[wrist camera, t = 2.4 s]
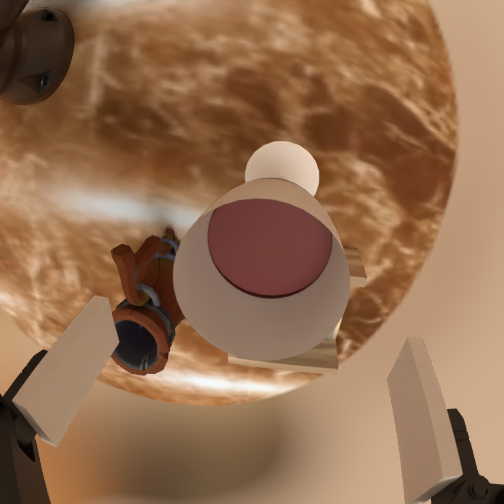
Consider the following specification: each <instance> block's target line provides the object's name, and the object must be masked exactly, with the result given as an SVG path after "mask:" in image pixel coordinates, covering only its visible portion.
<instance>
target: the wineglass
mask: <svg viewBox="0 0 504 504" xmlns="http://www.w3.org/2000/svg"><path fill="white" fill-rule="evenodd" d="M245 182H246V183H244V184H242V185H240V186H238V187H235V188H233V189H232V190H230V191H229V192H227V193H226V194H224V195H223V196H222V197H220V198H219V199H218V200H217V201H216V202H215V203H214V204H213V205H211V206H210V207H209V208H208V209H207V210H206V211H205V212H204V213H203V214H202V215H201V216H200V217H199V218H198V220H197V221H196V222H195V223H194V224H193V225H192V227H191V228H190V229H189V230H188V232H187V234H186V235H185V237H184V238H183V240H182V241H181V244H180V246H179V248H178V251H177V253H176V257H175V262H174V266H173V283H174V291H175V295H176V298H177V302H178V304H179V306H180V308H181V311H182V313H183V315H184V316H185V318H186V319H187V321H188V322H189V324H190V325H191V326H192V327H193V328H194V329H195V331H196V332H197V333H198V334H199V335H200V336H202V337H203V338H204V339H205V340H206V341H208V342H209V343H211V344H212V345H214V346H215V347H217V348H219V349H221V350H222V351H224V352H226V353H229V354H232V355H235V356H237V357H241V358H246V359H251V360H260V361H269V360H280V359H286V358H289V357H293V356H297V355H299V354H301V353H304V352H306V351H308V350H310V349H311V348H313V347H315V346H316V345H318V344H319V343H320V342H322V341H323V340H324V339H325V338H326V337H327V336H328V335H329V334H330V333H331V332H332V331H333V330H334V329H335V327H336V326H337V324H338V323H339V321H340V320H341V318H342V316H343V314H344V311H345V309H346V307H347V303H348V299H349V295H350V273H349V266H348V263H347V259H346V256H345V253H344V250H343V247H342V243H341V241H340V238H339V235H338V233H337V231H336V228H335V226H334V224H333V223H332V221H331V219H330V217H329V215H328V213H327V212H326V211H325V209H324V208H323V207H322V206H321V204H320V203H319V202H318V201H317V200H316V199H315V198H314V197H313V196H314V195H315V194H316V191H317V188H318V185H319V170H318V167H317V164H316V161H315V160H314V159H313V157H312V156H311V155H310V153H309V152H308V151H307V150H305V149H304V148H302V147H301V146H299V145H297V144H294V143H291V142H288V141H275V142H272V143H269V144H266V145H263V146H262V147H261V148H259V149H258V150H257V151H255V152H254V153H253V155H252V156H251V158H250V159H249V161H248V163H247V167H246V170H245Z"/></svg>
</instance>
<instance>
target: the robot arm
mask: <svg viewBox="0 0 504 504" xmlns="http://www.w3.org/2000/svg"><path fill="white" fill-rule="evenodd" d="M28 2H29V0H0V100H1V101H5V102H9V103H13V104H17V105H28V104H33V103H38V102H40V101H43V100H44V99H46V98H47V97H49V96H50V95H51V94H52V93H53V92H54V91H55V90H56V88H57V87H58V86H59V84H60V83H61V81H62V80H63V78H64V76H65V74H66V72H67V69H68V67H69V64H70V61H71V57H72V52H73V42H74V38H73V30H72V26H71V23H70V21H69V19H68V17H67V16H66V15H65V14H64V13H63V12H61V11H59V10H57V9H52V8H45V7H42V8H35V9H32V10H28V11H25V12H22V11H23V9H24V8H25V6H26V5H27V3H28ZM118 344H119V339H118V335H117V332H116V328H115V324H114V320H113V316H112V312H111V308H110V304H109V299H108V298H106V297H101V296H97V295H94V296H93V298H92V299H91V300H90V301H89V302H88V303H87V305H86V306H85V307H84V308H83V309H82V310H81V312H80V313H79V314H78V315H77V316H76V318H75V319H74V320H73V321H72V322H71V324H70V325H69V326H68V327H67V329H66V330H65V331H64V332H63V333H62V335H61V336H60V337H59V338H58V340H57V341H56V342H55V343H54V345H53V346H52V347H51V349H50V350H49V351H46V350H44V349H43V350H41V351H40V352H39V353H37V354H36V355H34V356H33V357H32V359H31V360H30V361H29V363H28V364H27V366H25V368H24V369H23V370H22V373H20V374H19V376H18V377H17V378H16V379H15V381H14V382H13V383H12V385H11V386H10V388H9V389H8V391H7V392H6V393H5V394H4V396H3V397H2V396H1V394H0V504H51V502H50V499H49V496H48V492H47V488H46V484H45V480H44V477H43V472H42V468H41V463H40V458H39V453H38V448H37V443H36V440H35V438H34V437H35V435H36V433H37V434H38V435H39V436H40V438H41V439H42V440H43V441H45V442H47V443H49V444H51V445H53V446H55V447H57V446H58V445H59V443H60V441H61V439H62V437H63V435H64V434H65V432H66V430H67V428H68V427H69V425H70V423H71V421H72V420H73V418H74V416H75V414H76V413H77V411H78V409H79V408H80V406H81V404H82V402H83V401H84V399H85V397H86V396H87V393H88V392H89V391H90V389H91V387H92V385H93V384H94V382H95V381H96V379H97V377H98V376H99V374H100V372H101V371H102V369H103V367H104V366H105V364H106V363H107V361H108V359H109V358H110V356H111V355H112V353H113V351H114V350H115V348H116V347H117V345H118ZM387 381H388V387H389V392H390V397H391V402H392V408H393V414H394V419H395V426H396V432H397V439H398V446H399V453H400V460H401V468H402V478H403V486H404V498H405V504H423V503H425V502H426V501H428V500H429V499H430V498H431V504H504V485H502V484H501V485H500V484H491V483H489V482H488V480H487V479H486V478H485V477H484V476H481V475H479V473H478V470H477V466H476V462H475V458H474V454H473V450H472V447H471V443H470V440H469V436H468V432H467V431H466V425H465V422H464V419H463V417H462V416H461V414H460V413H459V412H458V410H457V409H446V406H445V402H444V399H443V396H442V393H441V389H440V386H439V383H438V380H437V377H436V374H435V371H434V368H433V365H432V362H431V360H430V357H429V354H428V351H427V348H426V346H425V344H424V340H423V338H415V337H407V339H406V341H405V344H404V346H403V348H402V350H401V352H400V354H399V357H398V358H397V360H396V362H395V364H394V367H393V368H392V370H391V372H390V374H389V376H388V378H387Z"/></svg>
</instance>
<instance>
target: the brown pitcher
mask: <svg viewBox="0 0 504 504" xmlns="http://www.w3.org/2000/svg"><path fill="white" fill-rule="evenodd" d="M178 248H179V247H178V245H177V244H176V243H175V242H174V231H173V230H172V229H170V228H167V229H166V238H162V239H160V238H159V237H156V236H153V235H152V236H150V237H149V238H147V239H146V240H145V242H144V243H143V245H142V246H141V248H140V249H139V250H138V251H137V252H136V253H135V254H134V253H133V251H132V249H131V248H130V246H128V245H124V244H121V245H119V246H117V247H115V248H113V249H112V250H111V254H112V258H113V260H114V261H115V263H116V265H117V267H118V271H119V274H120V278H121V283H122V287H123V291H124V294H125V297H126V299H125V300H123V301H122V302H121V303H120V304H119V305H117V307H116V310H115V311H113V312H112V316H113V320H114V324H115V328H116V332H117V335H118V339H119V344H118V345H117V347H116V348H115V350H114V351H113V353H112V355H111V357H112V359H113V360H114V361H115V362H116V363H117V364H118V365H119V366H120V367H121V368H123V369H125V370H126V371H128V372H130V373H131V374H137V375H143V376H144V375H146V374H156V373H158V372H160V371H162V370H163V369H164V367H165V365H166V363H167V360H168V354H169V352H170V347H171V345H172V342H173V340H174V337H175V328H176V327H177V325H178V324H179V323H180V322H181V321H182V320H183V319H184V318H185V316H184V315H183V313H182V311H181V308H180V306H179V304H178V302H177V298H176V295H175V291H174V283H173V266H174V262H175V257H176V253H177V251H178Z"/></svg>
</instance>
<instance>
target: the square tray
mask: <svg viewBox="0 0 504 504" xmlns="http://www.w3.org/2000/svg"><path fill="white" fill-rule="evenodd" d="M343 250H344V253H345V256H346V259H347V263H348V266H349V273H350V286H359V287H365V283H366V280H367V276H366V273H365V270H364V267H363V264H362V260H361V257H360V254H359V251H358V249H352V248H343ZM341 319H342V318H341ZM340 323H341V320H340V321H339V323H338V324H337V326H336V327H335V329H334V330H333V331H332V332H331V333H330V334H329V335H328V336H327V337H326V338H325V339H324V340H323V341H322V342H320V343H319V344H318V345H316V346H315V347H313V348H311V349H310V350H308V351H306V352H304V353H301V354H299V355H297V356H293V357H289V358H286V359H280V360H269V361H260V360H251V359H246V358H241V357H237V356H235V355H232V354H229V353H228V363H234V364H241V365H248V366H256V367H263V368H271V369H280V370H289V371H299V372H310V373H322V374H335V375H336V373H337V370H338V362H337V351H336V336H337V333H338V329H339V326H340Z"/></svg>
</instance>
